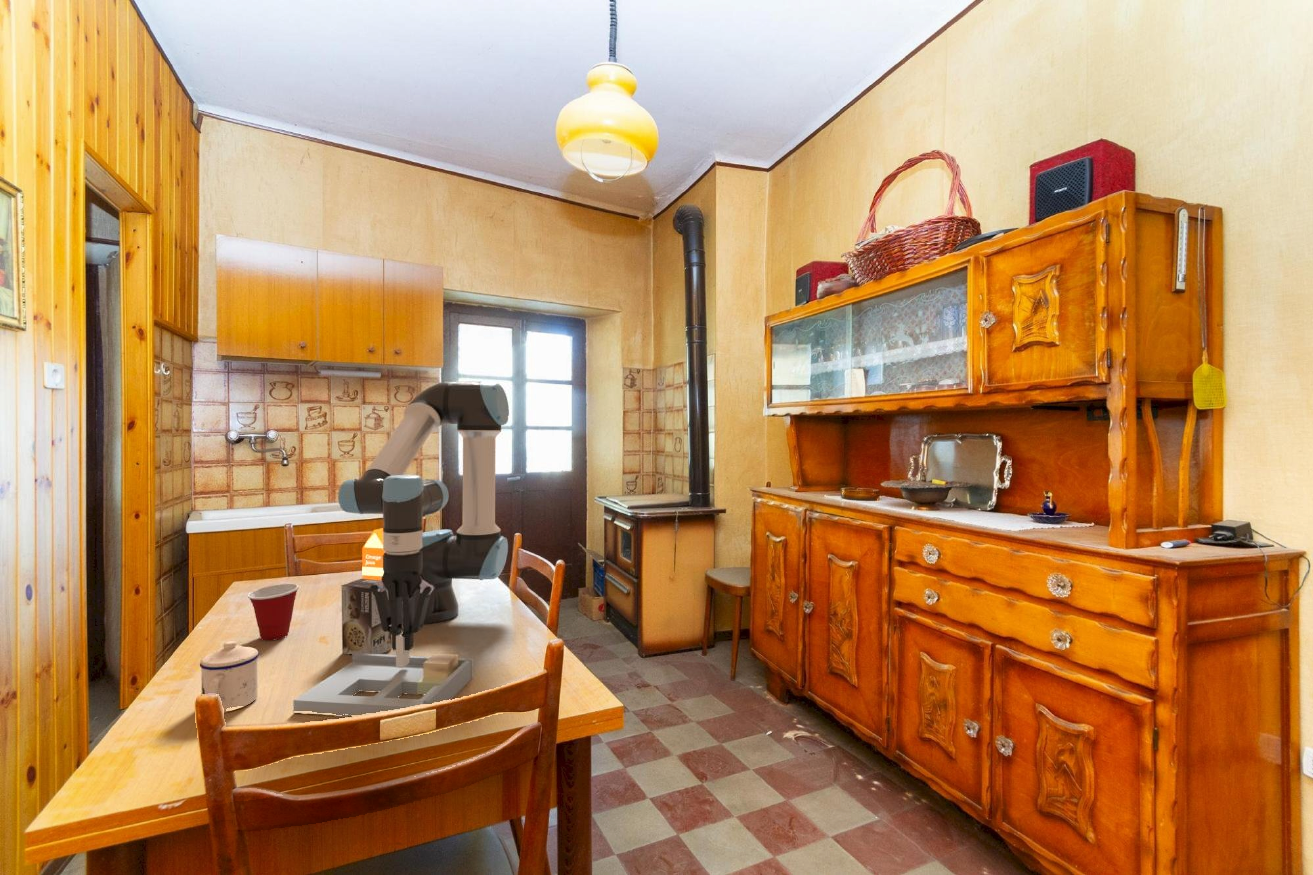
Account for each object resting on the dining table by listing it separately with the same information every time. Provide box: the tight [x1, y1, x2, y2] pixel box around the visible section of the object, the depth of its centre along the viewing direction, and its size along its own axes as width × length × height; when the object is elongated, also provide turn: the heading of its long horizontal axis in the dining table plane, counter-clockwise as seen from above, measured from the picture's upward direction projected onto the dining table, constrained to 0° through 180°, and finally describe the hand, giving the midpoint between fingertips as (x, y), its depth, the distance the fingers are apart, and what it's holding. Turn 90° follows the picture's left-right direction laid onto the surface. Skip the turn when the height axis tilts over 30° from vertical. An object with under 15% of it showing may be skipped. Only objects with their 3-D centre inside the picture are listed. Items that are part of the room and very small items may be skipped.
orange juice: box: [361, 527, 385, 581], centre depth 190 cm, size 8×9×20 cm
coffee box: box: [341, 578, 392, 656], centre depth 140 cm, size 9×6×16 cm
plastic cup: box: [246, 582, 299, 641], centre depth 149 cm, size 11×11×12 cm
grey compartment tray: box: [292, 653, 474, 718], centre depth 118 cm, size 20×26×4 cm
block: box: [423, 653, 459, 679], centre depth 123 cm, size 5×5×3 cm
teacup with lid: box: [199, 640, 260, 714], centre depth 112 cm, size 12×9×12 cm
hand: (402, 664), depth 124 cm, fingers closed
